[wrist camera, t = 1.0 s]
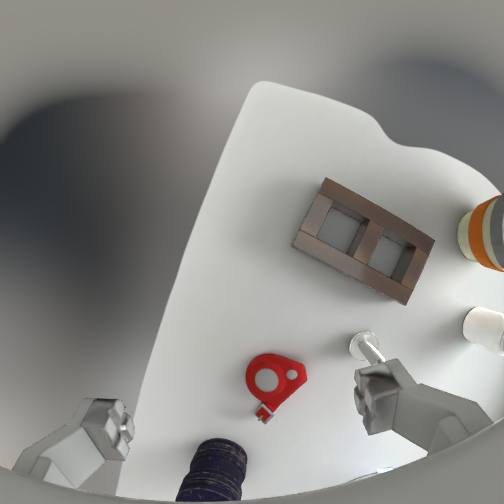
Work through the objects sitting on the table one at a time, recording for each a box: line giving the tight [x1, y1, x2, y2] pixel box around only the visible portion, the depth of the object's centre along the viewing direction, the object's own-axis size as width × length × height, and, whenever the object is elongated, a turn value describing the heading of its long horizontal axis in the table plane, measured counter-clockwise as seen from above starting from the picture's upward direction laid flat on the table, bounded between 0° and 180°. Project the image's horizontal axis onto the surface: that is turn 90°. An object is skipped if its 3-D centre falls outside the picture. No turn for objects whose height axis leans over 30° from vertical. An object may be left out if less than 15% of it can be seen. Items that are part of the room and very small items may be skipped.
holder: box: [291, 177, 435, 306], centre depth 45 cm, size 11×20×5 cm, turn 63°
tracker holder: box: [246, 354, 307, 424], centre depth 47 cm, size 12×4×10 cm
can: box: [463, 307, 504, 355], centre depth 39 cm, size 6×6×12 cm
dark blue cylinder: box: [175, 438, 247, 502], centre depth 42 cm, size 10×10×15 cm
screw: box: [349, 331, 385, 366], centre depth 41 cm, size 13×5×5 cm
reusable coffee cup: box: [457, 193, 504, 272], centre depth 38 cm, size 13×13×15 cm
